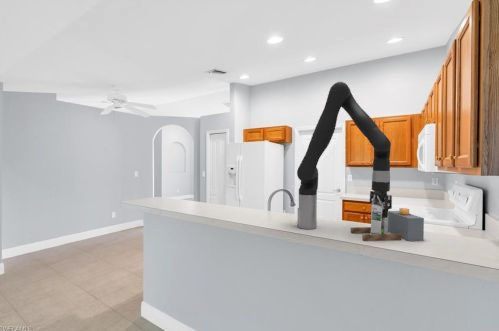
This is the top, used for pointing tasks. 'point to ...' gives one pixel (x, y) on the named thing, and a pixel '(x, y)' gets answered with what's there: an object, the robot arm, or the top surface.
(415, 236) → the end cabinet
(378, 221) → the syrup box
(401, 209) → the gauge button
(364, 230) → the guide rails
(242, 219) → the top surface
